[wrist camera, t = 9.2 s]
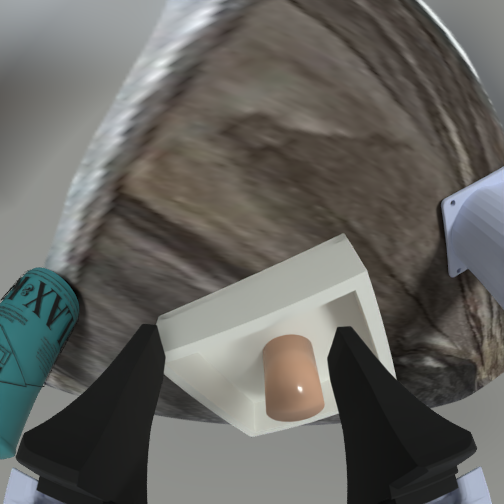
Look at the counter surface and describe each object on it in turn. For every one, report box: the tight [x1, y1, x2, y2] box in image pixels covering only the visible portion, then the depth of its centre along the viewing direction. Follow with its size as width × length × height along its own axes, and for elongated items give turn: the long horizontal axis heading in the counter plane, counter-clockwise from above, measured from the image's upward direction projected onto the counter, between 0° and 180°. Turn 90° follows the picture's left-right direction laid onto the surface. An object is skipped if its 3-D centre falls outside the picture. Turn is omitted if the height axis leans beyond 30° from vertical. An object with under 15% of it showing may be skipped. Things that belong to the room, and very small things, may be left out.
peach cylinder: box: [263, 334, 325, 422], centre depth 22 cm, size 4×4×6 cm
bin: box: [156, 233, 397, 437], centre depth 23 cm, size 16×16×5 cm
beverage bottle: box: [0, 268, 79, 459], centre depth 13 cm, size 6×7×20 cm
